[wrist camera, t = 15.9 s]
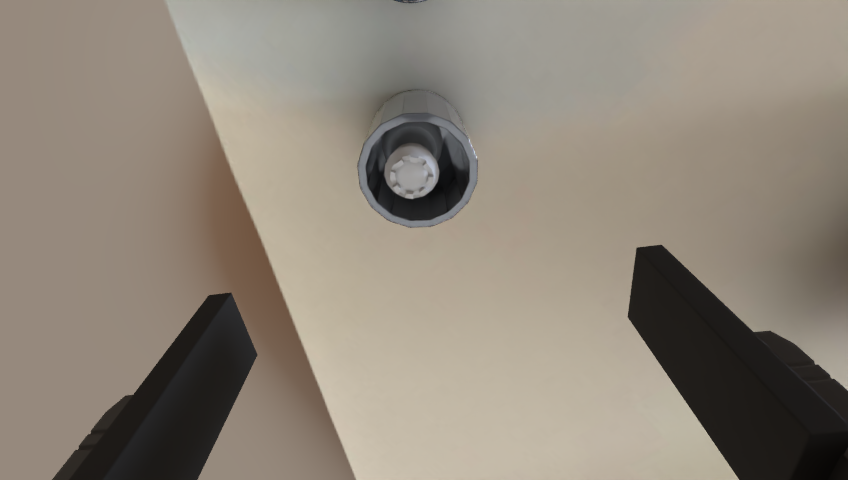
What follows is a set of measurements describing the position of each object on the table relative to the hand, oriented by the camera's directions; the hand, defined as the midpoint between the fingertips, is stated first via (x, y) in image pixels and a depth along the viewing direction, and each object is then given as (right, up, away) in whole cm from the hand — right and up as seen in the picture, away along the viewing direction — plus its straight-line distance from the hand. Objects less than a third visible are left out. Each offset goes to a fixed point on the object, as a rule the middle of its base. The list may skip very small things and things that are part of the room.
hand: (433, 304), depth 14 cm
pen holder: (-1, +10, +18) cm, 20 cm away
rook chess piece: (-1, +10, +17) cm, 20 cm away
